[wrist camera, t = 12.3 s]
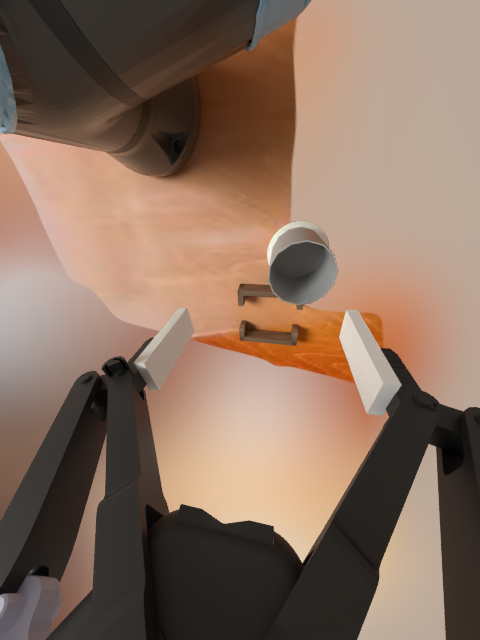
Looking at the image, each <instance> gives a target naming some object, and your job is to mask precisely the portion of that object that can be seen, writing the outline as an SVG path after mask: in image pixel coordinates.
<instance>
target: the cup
mask: <svg viewBox="0 0 480 640" xmlns="http://www.w3.org/2000/svg"><path fill="white" fill-rule="evenodd" d="M337 273H338V267H337V263H336V259H335V255H334V254H333V253H332V251H331V250H330V249H329V248H328V246H327V245H326V244H325V243H324V241H323V240H322V239H321V238H320V237H319V236H318V235H317V233H316V232H315V231H314V230H312V229H308V228H305V227H297V228H292V229H288V230H287V231H286V232H284V233H283V234H282V235H281V236H279V237H278V239H277V241H276V243H275V244H274V246H273V249H272V254H271V260H270V265H269V275H268V282H269V284H270V286H271V289H272V291H273V293H274V294H275V295H276V296H278V297H279V298H280V299H281V300H282V301H284V302H288V303H291V304H295V305H300V304H309V303H312V302H314V301H316V300H318V299H320V298H322V297H324V296H325V295H326V293H327V292H328V291H329V290H330V289H331V288H332V286H333V285H334V283H335V280H336V276H337Z"/></svg>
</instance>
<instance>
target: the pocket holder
mask: <svg viewBox="0 0 480 640" xmlns="http://www.w3.org/2000/svg"><path fill="white" fill-rule="evenodd" d="M246 296H259V297H278V296H276V295H275V294H274V293H273V291H272V289H271V286H270V285H254V284H240V286H239V289H238V306H244V303H245V300H246ZM278 298H279V297H278ZM296 307H297V310H302V309H303V304H300V305H296ZM239 331H240V340H242V341H253V342H263V343H274V344H284V345H294V346H296V344H297V338H298V326H297V325H294V324H293V325H292V331H291V333H289V332H277V331H265V330H253V329H246V321H242V322H241V325H240V328H239Z"/></svg>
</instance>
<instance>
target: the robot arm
mask: <svg viewBox="0 0 480 640" xmlns="http://www.w3.org/2000/svg"><path fill="white" fill-rule="evenodd" d="M310 1H311V0H0V133H2V134H6V135H8V134H10V133H12V134H17V135H22V136H27V137H32V138H37V139H42V140H47V141H52V142H57V143H62V144H67V145H72V146H77V147H83V148H88V149H93V150H98V151H103V152H106V153H108V154H109V155H111V156H112V157H113V158H115V159H116V160H117V161H119V162H120V163H122V164H123V165H124V166H126V167H127V168H129V169H131V170H132V171H134V172H137V173H139V174H142V175H147V176H155V177H164V176H168V175H171V174H173V173H175V172H177V171H178V170H180V169H181V168H182V167H183V166H184V165H185V163H186V162H187V161H188V159H189V158H190V156H191V154H192V152H193V150H194V147H195V145H196V141H197V137H198V132H199V125H200V100H199V92H198V86H197V82H196V78H195V75H197V74H199V73H201V72H202V71H204V70H206V69H208V68H210V67H212V66H214V65H216V64H217V63H219V62H221V61H223V60H225V59H227V58H229V57H230V56H232V55H234V54H236V53H238V52H240V51H242V50H244V49H246V51H247V52H249V51H251V50H253V49H254V48H255V47H256V46H257V44H258V42H259V40H260V39H262V38H264V37H265V36H267V35H268V34H270V33H272V32H273V31H275V30H277V29H278V28H280V27H281V26H283V25H285V24H286V23H288V22H289V21H291V20H293V19H294V18H296V17H297V16H298V15H299V14H300V13H301V12H302V11H303V10H304V9H305V8H306V7H307V6H308V4H309V3H310ZM193 333H194V329H193V326H192V323H191V319H190V316H189V313H188V309H187V308H178V310H177V311H176V312H175V313H174V314H173V316H172V317H171V318H170V319H169V320H168V322H167V323H166V324H165V325H164V327H163V328H162V329H161V330H160V331H159V333H158V334H157V335H156V336H155V337H154V338H150V339H149V340H147V341H146V342H145V343H144V344H143V345H142V347H141V348H140V349H139V350H138V351H137V352H136V353H135V355H134V356H133V357H132V358H131V359H130V360H129V362H128V363H127V362H126V360H125V359H124V358H123V357H114V358H112V359H110V360H108V361H107V362H106V363H105V364H104V365H103V366H102V370H103V371H104V372H105V374H106V375H101V376H99V374H98V373H97V372H95V371H90V372H87V373H85V374H83V375H81V376H80V377H79V378H78V379H77V380H76V381H75V383H74V385H73V387H72V388H71V390H70V392H69V394H68V396H67V398H66V400H65V402H64V404H63V405H62V407H61V409H60V411H59V413H58V415H57V417H56V418H55V421H54V422H53V424H52V426H51V428H50V430H49V432H48V433H47V435H46V437H45V439H44V441H43V443H42V445H41V447H40V448H39V451H38V452H37V454H36V456H35V458H34V460H33V462H32V463H31V465H30V467H29V469H28V471H27V473H26V475H25V476H24V478H23V480H22V482H21V484H20V486H19V488H18V490H17V491H16V493H15V495H14V497H13V499H12V501H11V503H10V505H9V506H8V508H7V510H6V512H5V514H4V516H3V518H2V520H1V521H0V640H357V638H358V635H359V633H360V630H361V628H362V625H363V622H364V620H365V618H366V615H367V612H368V610H369V607H370V604H371V602H372V599H373V597H374V594H375V591H376V588H377V585H378V581H379V567H380V564H381V561H382V558H383V556H384V553H385V551H386V548H387V546H388V543H389V541H390V538H391V536H392V533H393V531H394V528H395V526H396V523H397V521H398V518H399V516H400V513H401V511H402V508H403V506H404V503H405V501H406V498H407V496H408V494H409V491H410V489H411V486H412V484H413V481H414V479H415V476H416V474H417V471H418V469H419V466H420V464H421V461H422V459H423V456H424V454H425V451H426V449H427V446H428V444H431V445H434V446H436V451H437V471H438V491H439V510H440V530H441V550H442V570H443V590H444V607H445V630H446V640H480V408H477V407H469V408H468V409H466V410H465V411H464V412H463V411H460V410H457V409H454V408H450V407H447V406H444V405H442V404H439V402H438V401H437V400H436V399H435V398H434V397H433V396H431V395H430V394H428V393H426V392H423V391H422V390H421V389H420V388H419V386H418V385H417V383H416V382H415V380H414V379H413V377H412V376H411V374H410V373H409V371H408V370H407V369H406V367H405V365H404V364H403V363H402V361H401V359H400V358H399V356H398V355H397V354H396V353H395V352H393V351H392V350H391V349H385V348H380V347H379V345H378V344H377V342H376V340H375V339H374V337H373V335H372V334H371V332H370V330H369V328H368V327H367V325H366V323H365V322H364V320H363V318H362V317H361V315H360V313H359V311H358V310H346V313H345V317H344V321H343V324H342V328H341V332H340V336H339V338H340V341H341V344H342V347H343V349H344V352H345V355H346V358H347V360H348V363H349V366H350V369H351V371H352V374H353V377H354V380H355V382H356V385H357V388H358V390H359V393H360V396H361V399H362V401H363V404H364V407H365V410H366V412H367V414H372V415H383V414H384V412H385V411H386V410H387V413H388V415H389V419H388V420H387V421H386V423H385V424H384V426H383V429H382V430H381V432H380V434H379V435H378V437H377V439H376V441H375V442H374V444H373V446H372V447H371V449H370V451H369V452H368V454H367V456H366V458H365V459H364V461H363V462H362V464H361V466H360V468H359V469H358V471H357V473H356V475H355V476H354V478H353V479H352V481H351V483H350V485H349V486H348V488H347V490H346V491H345V493H344V495H343V496H342V498H341V500H340V502H339V503H338V505H337V507H336V508H335V510H334V512H333V514H332V515H331V517H330V518H329V520H328V522H327V524H326V526H325V527H324V529H323V530H322V532H321V534H320V535H319V537H318V538H317V540H316V542H315V543H314V545H313V546H312V548H311V550H310V552H309V553H308V555H307V557H306V558H305V560H304V562H303V563H302V562H301V560H300V559H299V557H298V555H297V554H296V553H295V551H294V549H293V548H292V547H291V546H290V544H289V543H288V542H287V541H286V540H285V539H284V538H283V537H281V536H280V535H279V534H277V533H276V532H274V527H273V526H270V525H265V524H261V523H257V522H253V521H243V522H235V523H228V524H223V523H221V522H220V521H218V520H217V519H215V518H214V517H212V516H211V515H210V514H208V513H207V512H205V511H204V510H202V509H199V508H195V507H191V506H187V505H183V504H181V506H180V509H179V510H176V511H173V512H170V513H169V510H168V506H167V503H166V500H165V498H164V496H163V492H162V487H161V481H160V475H159V469H158V464H157V458H156V452H155V446H154V440H153V435H152V429H151V423H150V417H149V411H148V406H147V400H146V394H145V391H144V387H145V386H146V384H147V386H148V388H149V389H150V390H158V391H159V390H160V388H161V387H162V385H163V383H164V381H165V380H166V378H167V377H168V375H169V373H170V371H171V369H172V368H173V366H174V365H175V363H176V361H177V359H178V358H179V356H180V355H181V353H182V351H183V350H184V348H185V346H186V345H187V343H188V341H189V339H190V338H191V336H192V334H193ZM106 433H107V446H106V485H105V497H104V499H103V500H102V501H101V502H100V503H99V505H98V508H97V515H96V534H95V554H94V573H93V574H94V576H93V589H92V590H91V591H90V593H89V594H88V595H87V596H86V597H85V598H84V599H83V600H82V601H81V602H80V603H79V604H78V605H77V606H76V607H75V608H74V610H73V611H72V612H71V613H70V614H69V615H68V616H67V617H66V618H65V619H64V620H63V621H62V622H61V624H59V626H58V627H57V628H56V629H55V630H54V631H53V632H52V633H51V624H52V621H53V620H54V619H55V617H56V616H57V614H58V613H59V610H60V608H61V606H62V601H63V600H62V599H63V598H62V595H61V594H60V583H59V582H60V580H61V578H62V576H63V574H64V571H65V568H66V566H67V563H68V561H69V558H70V556H71V553H72V550H73V546H74V543H75V541H76V538H77V534H78V531H79V527H80V524H81V520H82V517H83V513H84V510H85V506H86V503H87V499H88V495H89V492H90V489H91V485H92V482H93V478H94V474H95V471H96V468H97V464H98V461H99V457H100V454H101V450H102V447H103V443H104V440H105V436H106ZM273 538H274V544H273Z"/></svg>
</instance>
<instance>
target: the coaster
mask: <svg viewBox="0 0 480 640" xmlns="http://www.w3.org/2000/svg"><path fill="white" fill-rule="evenodd" d="M297 227H305V228H308V229H312V230H314V231H315V232H316V233H317V235H318V236H319V237H320V238H321V239H322V240H323V241H324V243H325V244H326V245H327V246H328V248H329V242H328V238H327V236H326V234H325V233H324V231H323V230H322V229H321V228H320V227H319V226H317V225H315V224H314V223H311V222H307V221H296V222H292V223H289V224H287V225H285V226H283V227H282V228H281V229H279V230H278V231H277V232H276V233H275V235H274V236H273V238H272V239H271V241H270V244H269V247H268V252H267V258H268V263H269V265H270V260H271V254H272V249H273V246H274V244H275V243H276V241H277V239H278V237H279V236H281V235H282V234H283V233H284V232H286V231H287V230H288V229H292V228H297Z"/></svg>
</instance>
